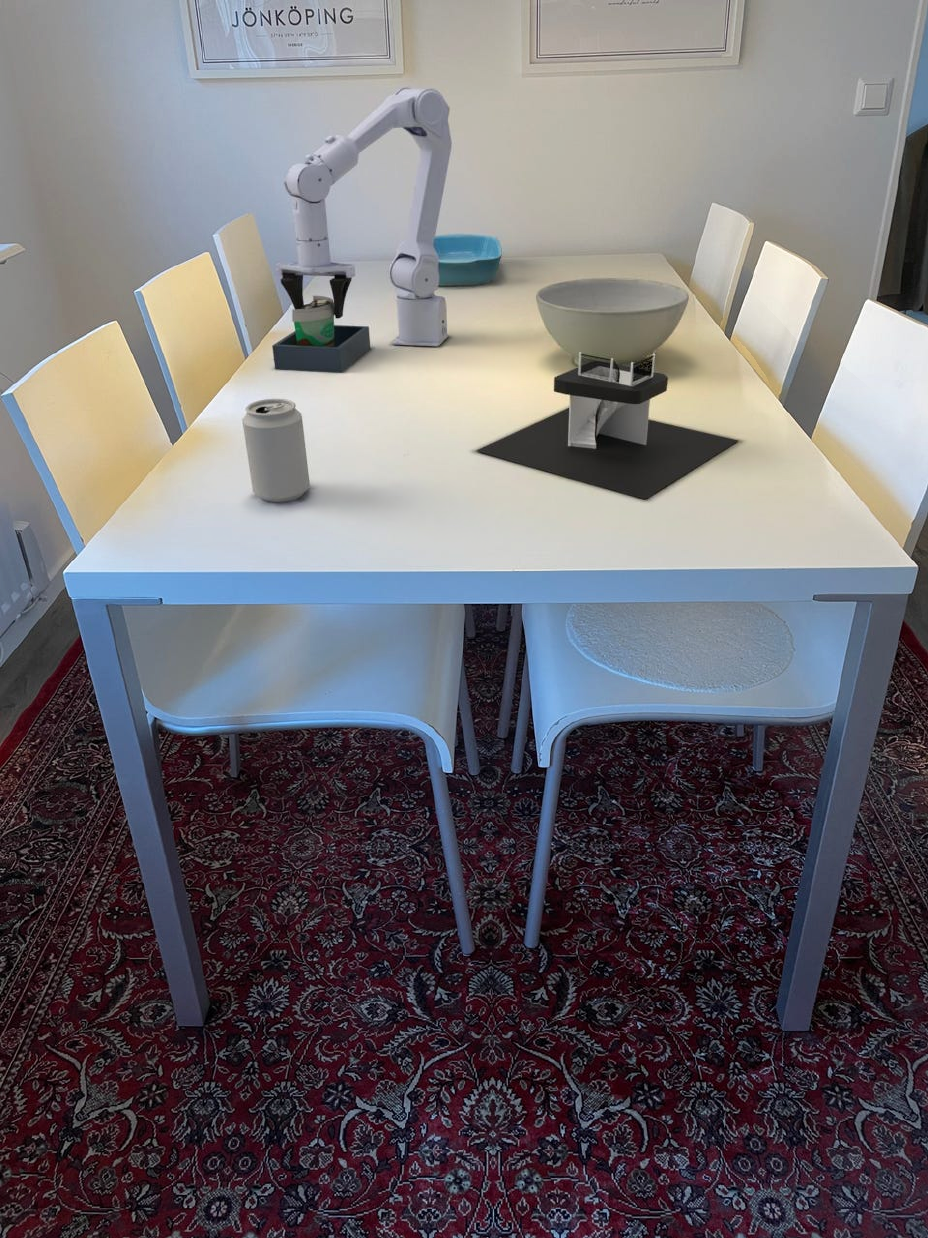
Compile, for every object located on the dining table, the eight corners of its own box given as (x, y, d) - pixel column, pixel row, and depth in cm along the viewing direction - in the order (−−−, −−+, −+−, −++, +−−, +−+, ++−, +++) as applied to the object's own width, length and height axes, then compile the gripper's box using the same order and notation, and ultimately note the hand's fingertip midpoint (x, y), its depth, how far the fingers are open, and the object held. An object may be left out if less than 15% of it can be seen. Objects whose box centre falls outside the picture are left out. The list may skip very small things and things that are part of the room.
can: (256, 483, 127) (243, 396, 120) (312, 480, 127) (302, 393, 121) (250, 506, 120) (236, 415, 114) (309, 503, 121) (298, 412, 114)
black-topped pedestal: (475, 451, 135) (474, 358, 128) (578, 404, 152) (582, 320, 145) (645, 500, 119) (654, 397, 112) (738, 441, 136) (751, 349, 129)
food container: (329, 366, 172) (323, 310, 167) (297, 365, 173) (291, 309, 168) (349, 348, 182) (344, 295, 177) (319, 347, 184) (314, 294, 178)
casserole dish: (504, 289, 226) (504, 257, 222) (411, 291, 226) (410, 260, 223) (498, 259, 258) (498, 232, 254) (417, 261, 258) (416, 234, 254)
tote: (370, 348, 183) (368, 326, 181) (341, 372, 170) (339, 348, 168) (308, 345, 186) (305, 323, 184) (274, 368, 173) (271, 345, 171)
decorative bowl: (697, 349, 178) (704, 283, 171) (660, 390, 157) (667, 317, 151) (563, 336, 187) (565, 273, 181) (512, 374, 167) (512, 304, 160)
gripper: (265, 241, 165) (274, 319, 172) (342, 243, 162) (349, 323, 169) (281, 234, 171) (290, 310, 178) (356, 236, 168) (362, 313, 175)
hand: (319, 316), depth 174 cm, fingers open, 7 cm apart
